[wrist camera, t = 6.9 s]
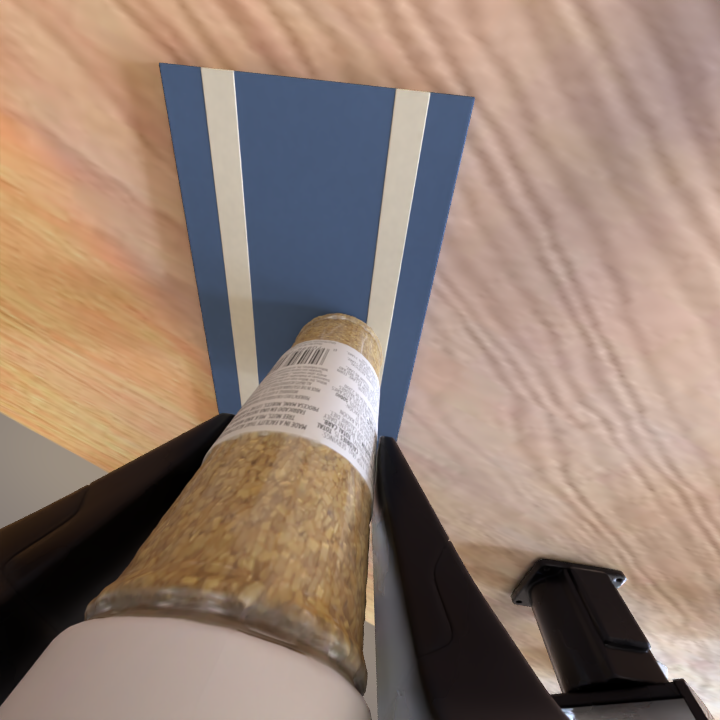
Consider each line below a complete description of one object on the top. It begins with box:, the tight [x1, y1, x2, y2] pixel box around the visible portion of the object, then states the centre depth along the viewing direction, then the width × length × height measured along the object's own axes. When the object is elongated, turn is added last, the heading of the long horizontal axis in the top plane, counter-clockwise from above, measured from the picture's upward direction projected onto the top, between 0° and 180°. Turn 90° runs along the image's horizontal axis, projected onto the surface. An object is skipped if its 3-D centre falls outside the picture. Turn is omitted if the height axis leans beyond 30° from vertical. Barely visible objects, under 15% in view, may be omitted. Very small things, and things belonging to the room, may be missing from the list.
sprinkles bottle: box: [0, 313, 383, 720], centre depth 8 cm, size 5×5×14 cm
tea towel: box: [159, 63, 475, 454], centre depth 15 cm, size 20×11×1 cm, turn 174°
